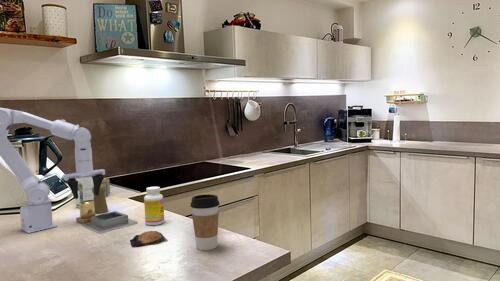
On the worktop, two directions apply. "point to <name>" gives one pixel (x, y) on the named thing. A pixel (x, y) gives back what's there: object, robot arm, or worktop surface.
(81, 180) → the syrup box
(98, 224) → the grey square tray
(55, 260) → the worktop surface
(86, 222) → the stand
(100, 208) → the cork
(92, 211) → the slotted brass cylinder
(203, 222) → the coffee cup
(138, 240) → the bread roll
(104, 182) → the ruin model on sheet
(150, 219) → the supplement bottle
